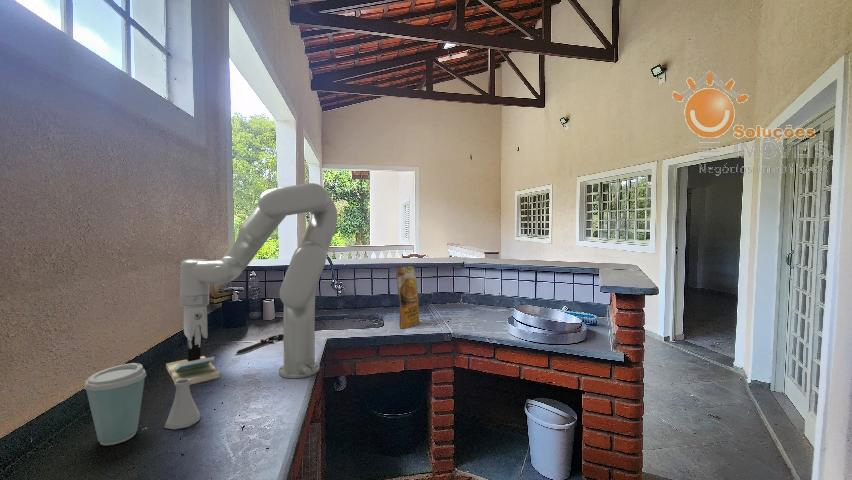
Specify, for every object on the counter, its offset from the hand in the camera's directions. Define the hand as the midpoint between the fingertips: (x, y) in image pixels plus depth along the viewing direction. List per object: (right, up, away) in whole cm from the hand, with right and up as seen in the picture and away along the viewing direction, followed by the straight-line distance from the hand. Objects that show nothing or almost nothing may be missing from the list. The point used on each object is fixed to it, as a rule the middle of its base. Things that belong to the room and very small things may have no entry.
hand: (193, 360), depth 114 cm
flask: (+13, -7, -24) cm, 28 cm away
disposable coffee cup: (+2, -7, -31) cm, 32 cm away
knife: (+6, -5, +33) cm, 34 cm away
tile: (-1, -1, +3) cm, 3 cm away
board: (-4, -6, +5) cm, 9 cm away
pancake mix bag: (+62, -4, +65) cm, 90 cm away
